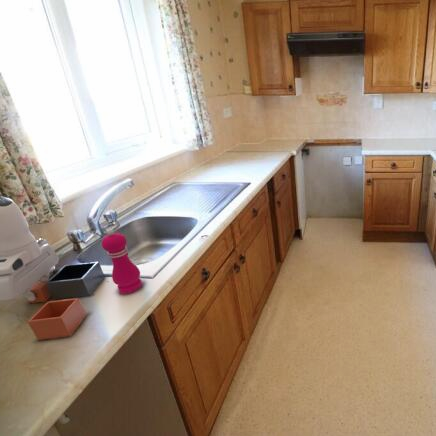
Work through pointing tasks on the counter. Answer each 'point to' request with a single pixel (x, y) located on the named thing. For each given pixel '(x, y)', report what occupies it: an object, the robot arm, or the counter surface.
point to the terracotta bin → (57, 319)
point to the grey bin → (75, 280)
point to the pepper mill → (121, 263)
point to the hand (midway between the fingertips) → (40, 293)
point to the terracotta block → (40, 292)
